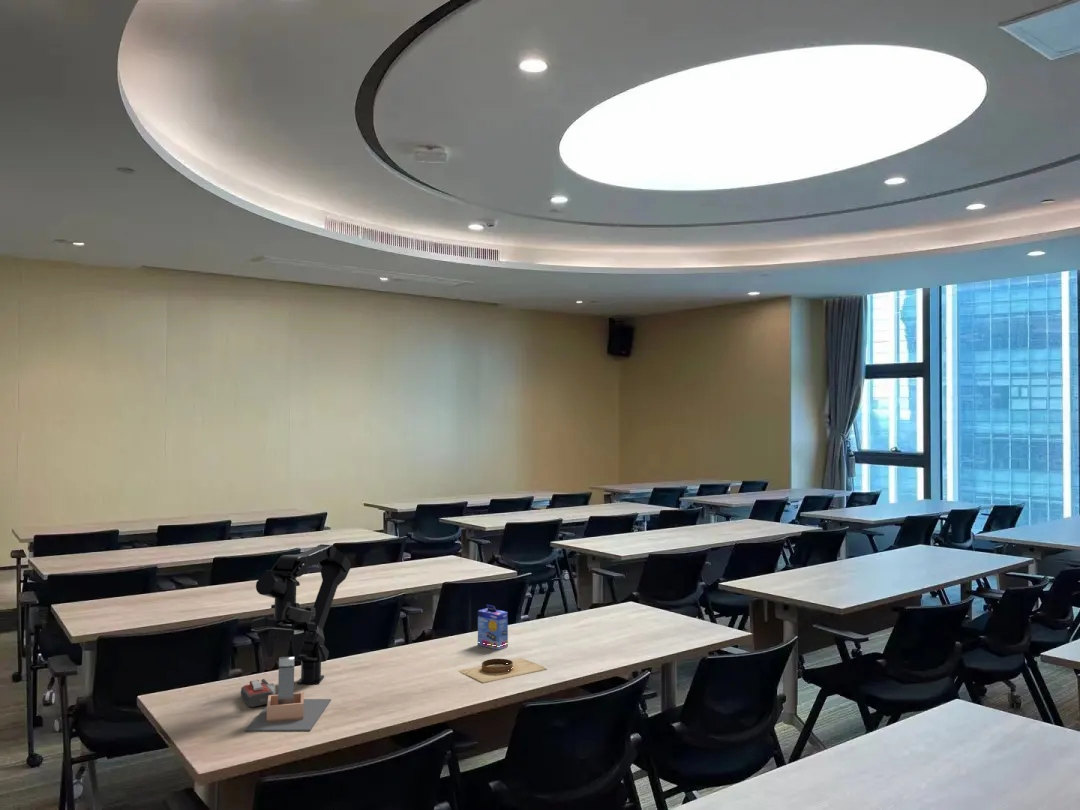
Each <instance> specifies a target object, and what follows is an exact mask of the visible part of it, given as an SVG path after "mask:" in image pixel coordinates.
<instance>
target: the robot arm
mask: <svg viewBox="0 0 1080 810" xmlns="http://www.w3.org/2000/svg"><path fill="white" fill-rule="evenodd" d="M316 564H317V565H318V566H319V567H320V575H321V579H322V581H321V585H320V586H319V590H318V592H317V595H316V598H315V601H314V604H313V606H307V607H306V608H305V609H304V608H301V605H300V603H299V602H297V587H299V586H300V585H301V583H300V581H298V580H297V578H300V577H302V576H303V575H305V573H307V572H308V568H310V567H312V566H314V565H316ZM351 565H352V564H351V561H350V559H349V558H348V556H347V555H346V554H345V553H343V552H342V551H340V550H339V549H337V548H336V547H335V546H334V545H332V544H322V543H321V544H318V545H317V546H315V547H313V548H311V549H308V550H306V551H303V552H300V553H299V554H285V555H280V556H279V558H278V559H277V561H276V562H275V564H274V565H273V566H272V568H271V569H266V570H265V573H264V574H262V575H260V577H259V578H258V579H257V581H256V582H255V589H256V591H257V593H258V594H259V595H261V596H265V597H269V598H272V599H274V604H271V605H270V606H271V607H270V609H271V610H273V611H274V612H273V616H272V617H271V616H263V617H258V618H254V619H253V620H252V622H251V628H250V630H251V631H254V635H257V636H258V639H259V640H260V642H261V644H262V646H263V649H264V651H265V653H266V655H267V657H268V659H269V658H271V659H272V658H273V657H274V656H273V655H274V649H275V648H274V647H275V636H276V635H277V632H278V630H285V631H288V630H289V631H290V632H291V633H292V634H290V641H291V649H292V656H294V662H295V661H297V662H300V663H301V664H300V665H301V666H300V668H301V669H300V678H298V679H299V680H298V681H297V683H296V684H300V685H303V684H304V685H308V684H309V685H310V684H311V685H313V684H317V685H319V684H320V683H321V682H322V681H323V679H324V678H325V675H322V663H324V662H327V660H328V657H329V653H330V651H329V650H328V648H327V647H326V646H325V636H324V635H325V634H324V627H325V625H326V621H327V619H328V615H329V612H330V609H331V606H332V604H333V600H334V598H335V595H336V593H337V589H338V587H339V585H340V584H341V583H343V581H345V580H346V578H347V576H348V574H349V572H350V571H351V567H352V566H351Z"/></svg>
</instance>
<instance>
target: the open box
mask: <svg viewBox="0 0 1080 810" xmlns="http://www.w3.org/2000/svg"><path fill="white" fill-rule="evenodd" d="M304 694H305V693H304V692H303V691H302V692H294V703H293V704H282V705H278V694H274V695H268V703H267V704H266V706H267V723H269V722H280V721H290V720H301V719H303V707H304V699H305V698H304V697H305V696H304Z"/></svg>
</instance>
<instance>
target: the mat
mask: <svg viewBox="0 0 1080 810" xmlns="http://www.w3.org/2000/svg"><path fill="white" fill-rule="evenodd" d="M331 701H332V698H304V707H303V719H301V720H290V721H280V722H269V723H267V705H265V706H264V708H263V709H262V710H261V711H260V712H259V714H258V715H257V716H256V717H255V718H253V720H252V721H251V722H250V724H248V725H247V727H246V728H245V729H244V732H311V731H312V729H313V728H314V726H315V724H316V723H317V722H318V721H319V719H320V718H321V716H322V715H323V713H324V712H325V711H326V709H327V707H328V706H329V704H330V703H331Z"/></svg>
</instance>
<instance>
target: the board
mask: <svg viewBox="0 0 1080 810" xmlns="http://www.w3.org/2000/svg"><path fill="white" fill-rule="evenodd" d="M506 663H508V664H506ZM512 667H513V668H512ZM511 668H512V669H511ZM508 670H509V671H508ZM547 670H548V669H547V668H546V667H544V666H543V665H540V664H539V663H535V662H532V661H530V660H527V659H525V658H522V657H521V658H516V659H508V658H489V659H486V660H484V661H482V662H481V666H477V667H471V668H466V669H461V670H458V671H457V672H458V673H460V674H462V675H464V676H465V677H468V678H470V679H472V680H474V681H476V682H478V683H480V684H487V683H493V682H496V681H501V680H505V679H510V678H514V677H520V676H524V675H529V674H534V673H539V672H543V671H547Z"/></svg>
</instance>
